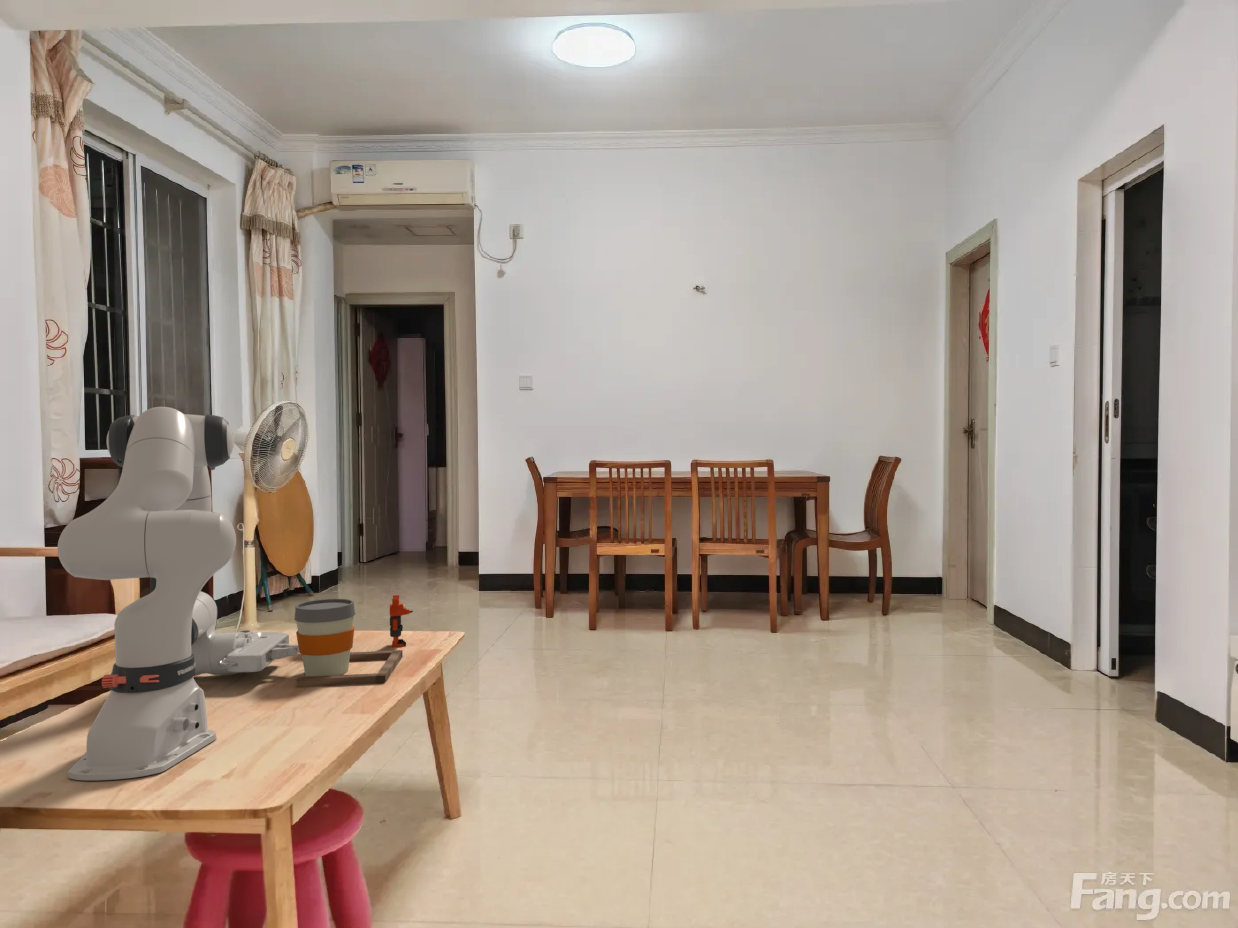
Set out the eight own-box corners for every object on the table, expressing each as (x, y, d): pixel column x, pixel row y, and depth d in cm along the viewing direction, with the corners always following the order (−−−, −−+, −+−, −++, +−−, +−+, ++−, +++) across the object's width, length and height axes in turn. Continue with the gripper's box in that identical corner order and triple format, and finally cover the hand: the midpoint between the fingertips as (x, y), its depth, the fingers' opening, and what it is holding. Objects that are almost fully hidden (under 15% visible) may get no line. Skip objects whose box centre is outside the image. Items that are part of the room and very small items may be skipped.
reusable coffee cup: (367, 671, 177) (365, 603, 176) (311, 683, 168) (309, 612, 167) (340, 661, 185) (338, 596, 185) (286, 672, 176) (284, 604, 176)
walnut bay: (385, 682, 168) (385, 675, 168) (296, 686, 166) (295, 679, 166) (402, 656, 188) (402, 650, 188) (323, 659, 187) (323, 653, 187)
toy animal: (413, 647, 196) (412, 598, 196) (390, 649, 195) (388, 600, 195) (413, 640, 204) (412, 593, 204) (391, 641, 203) (390, 594, 203)
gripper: (212, 650, 164) (282, 647, 166) (248, 628, 184) (310, 625, 186) (213, 681, 164) (283, 678, 166) (248, 655, 185) (311, 652, 186)
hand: (298, 650), depth 176 cm, fingers closed, pressing on reusable coffee cup
